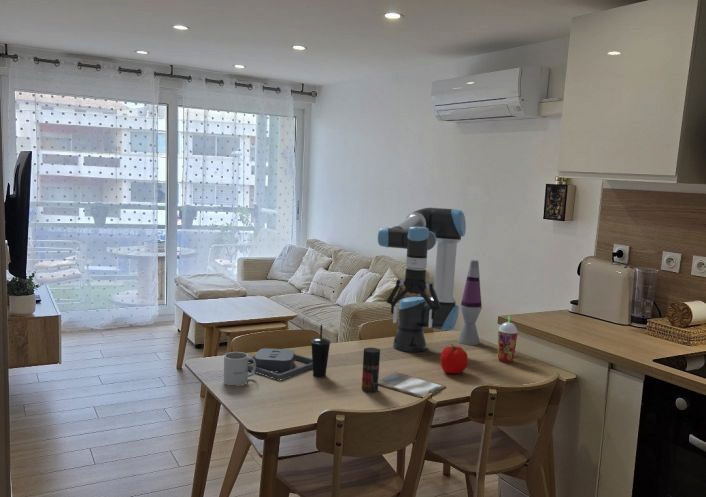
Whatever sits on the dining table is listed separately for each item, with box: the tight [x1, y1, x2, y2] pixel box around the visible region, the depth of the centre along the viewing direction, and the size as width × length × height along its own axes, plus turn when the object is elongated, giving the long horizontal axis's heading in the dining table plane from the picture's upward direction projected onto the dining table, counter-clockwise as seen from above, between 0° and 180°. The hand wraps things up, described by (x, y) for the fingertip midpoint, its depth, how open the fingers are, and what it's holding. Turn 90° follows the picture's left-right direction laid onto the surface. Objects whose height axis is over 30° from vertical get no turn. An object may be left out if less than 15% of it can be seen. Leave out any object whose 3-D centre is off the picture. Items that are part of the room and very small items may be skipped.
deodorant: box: [361, 347, 381, 394], centre depth 210 cm, size 6×6×15 cm
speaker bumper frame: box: [248, 353, 313, 381], centre depth 232 cm, size 24×24×2 cm
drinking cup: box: [310, 324, 332, 378], centre depth 222 cm, size 8×8×20 cm
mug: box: [223, 351, 256, 386], centre depth 212 cm, size 12×9×10 cm
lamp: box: [457, 259, 483, 346], centre depth 278 cm, size 11×11×40 cm
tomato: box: [439, 344, 469, 374], centre depth 233 cm, size 12×12×11 cm
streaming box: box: [254, 347, 296, 373], centre depth 231 cm, size 14×14×5 cm
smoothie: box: [497, 315, 519, 364], centre depth 252 cm, size 8×8×20 cm
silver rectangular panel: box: [378, 371, 447, 398], centre depth 217 cm, size 22×16×1 cm
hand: (412, 324), depth 216 cm, fingers open, 13 cm apart
